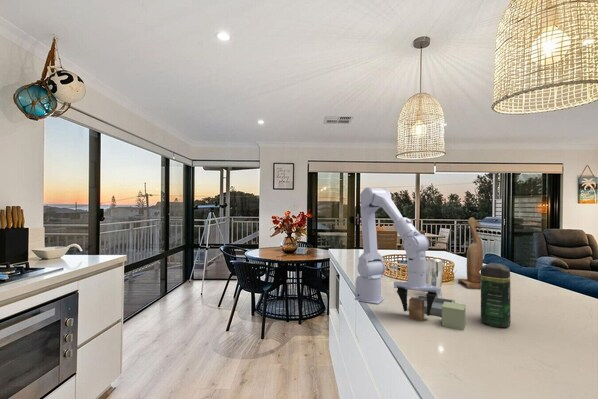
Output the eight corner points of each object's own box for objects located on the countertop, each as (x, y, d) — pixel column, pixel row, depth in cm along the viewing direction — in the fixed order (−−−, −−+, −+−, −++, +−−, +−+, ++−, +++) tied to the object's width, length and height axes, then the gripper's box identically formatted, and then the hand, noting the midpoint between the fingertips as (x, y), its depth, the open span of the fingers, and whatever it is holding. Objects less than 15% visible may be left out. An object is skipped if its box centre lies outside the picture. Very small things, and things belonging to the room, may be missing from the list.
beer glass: (445, 299, 119) (445, 261, 119) (426, 298, 121) (426, 261, 121) (441, 294, 126) (440, 258, 126) (423, 293, 127) (422, 258, 128)
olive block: (442, 326, 93) (441, 306, 94) (444, 319, 98) (444, 301, 99) (464, 330, 90) (463, 310, 90) (465, 323, 95) (465, 304, 95)
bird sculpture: (494, 290, 134) (495, 218, 135) (467, 289, 135) (468, 217, 135) (481, 284, 145) (481, 217, 146) (455, 283, 146) (457, 216, 147)
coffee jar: (509, 330, 90) (508, 267, 90) (478, 324, 95) (477, 264, 95) (512, 321, 97) (511, 263, 98) (483, 315, 102) (483, 260, 103)
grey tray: (409, 310, 107) (409, 303, 107) (417, 301, 118) (417, 294, 118) (450, 318, 100) (450, 310, 100) (454, 307, 111) (454, 300, 111)
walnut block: (409, 318, 100) (409, 300, 100) (411, 314, 103) (411, 297, 103) (422, 320, 97) (421, 302, 98) (424, 317, 101) (424, 298, 101)
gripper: (391, 271, 101) (391, 312, 101) (438, 276, 93) (438, 320, 93) (396, 267, 107) (397, 306, 107) (441, 272, 99) (442, 314, 99)
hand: (416, 312), depth 100 cm, fingers open, 7 cm apart
